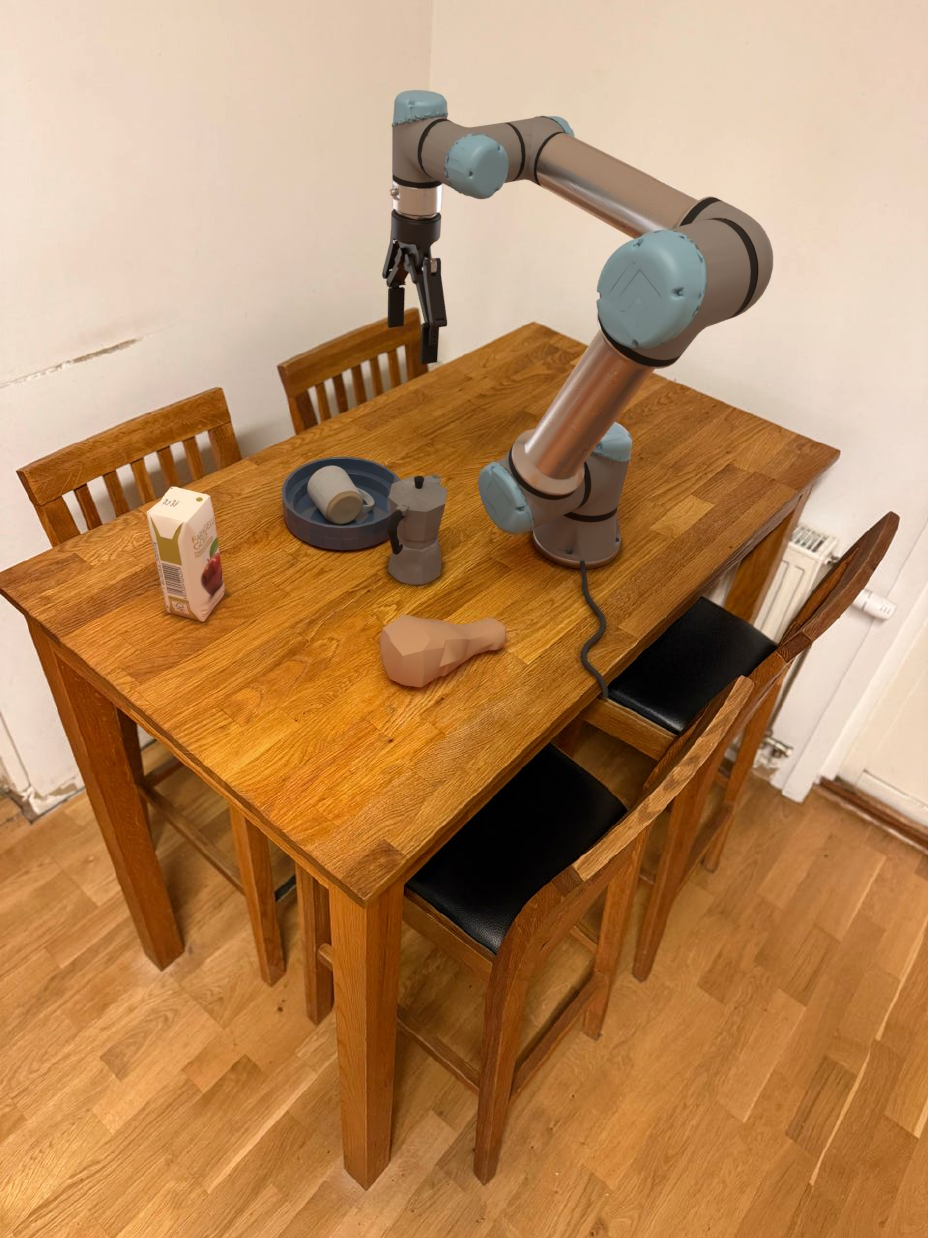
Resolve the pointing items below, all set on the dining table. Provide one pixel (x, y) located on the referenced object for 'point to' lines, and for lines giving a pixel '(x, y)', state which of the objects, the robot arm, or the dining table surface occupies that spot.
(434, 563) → the coffeepot
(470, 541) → the dining table surface
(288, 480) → the bowl
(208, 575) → the juice carton
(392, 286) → the robot arm
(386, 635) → the raw chicken drumstick
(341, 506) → the ceramic mug
